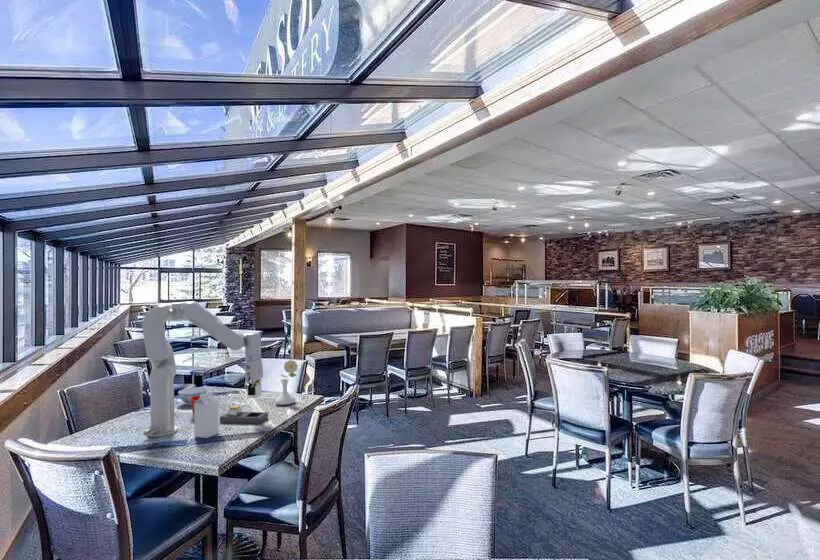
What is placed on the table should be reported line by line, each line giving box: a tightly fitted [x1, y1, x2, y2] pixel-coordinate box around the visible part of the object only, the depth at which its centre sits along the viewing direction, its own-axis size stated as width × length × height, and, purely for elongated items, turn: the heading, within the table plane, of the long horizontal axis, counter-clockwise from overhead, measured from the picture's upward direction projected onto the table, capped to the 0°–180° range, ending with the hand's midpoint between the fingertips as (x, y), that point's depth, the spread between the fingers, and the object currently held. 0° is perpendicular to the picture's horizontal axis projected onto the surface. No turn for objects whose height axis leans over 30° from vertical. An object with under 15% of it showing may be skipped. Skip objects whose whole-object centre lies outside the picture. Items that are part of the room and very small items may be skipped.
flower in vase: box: [274, 359, 299, 406], centre depth 242 cm, size 13×11×25 cm
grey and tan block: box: [246, 382, 263, 399], centre depth 212 cm, size 5×5×7 cm
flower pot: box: [190, 395, 200, 417], centre depth 222 cm, size 11×11×10 cm
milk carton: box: [193, 391, 220, 439], centre depth 192 cm, size 7×7×19 cm
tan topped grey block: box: [226, 405, 243, 416], centre depth 213 cm, size 5×5×7 cm
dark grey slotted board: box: [219, 411, 269, 425], centre depth 212 cm, size 9×21×3 cm, turn 82°
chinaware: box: [177, 386, 208, 406], centre depth 245 cm, size 15×15×8 cm
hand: (254, 393), depth 212 cm, fingers closed on grey and tan block, 5 cm apart
